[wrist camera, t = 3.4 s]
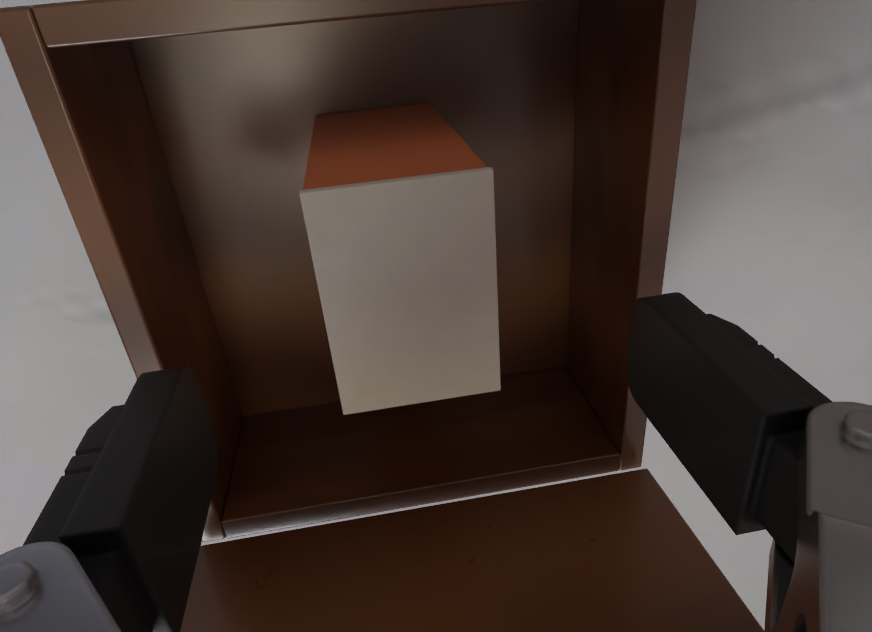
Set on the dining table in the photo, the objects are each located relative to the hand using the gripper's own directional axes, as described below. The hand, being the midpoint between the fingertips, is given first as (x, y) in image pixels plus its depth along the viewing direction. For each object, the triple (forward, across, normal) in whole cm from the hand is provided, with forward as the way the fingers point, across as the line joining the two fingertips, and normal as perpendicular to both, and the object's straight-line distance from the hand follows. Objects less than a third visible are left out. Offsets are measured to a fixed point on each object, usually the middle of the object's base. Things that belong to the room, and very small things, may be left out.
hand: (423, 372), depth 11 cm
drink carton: (+11, 0, 0) cm, 11 cm away
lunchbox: (+12, 0, +1) cm, 12 cm away
